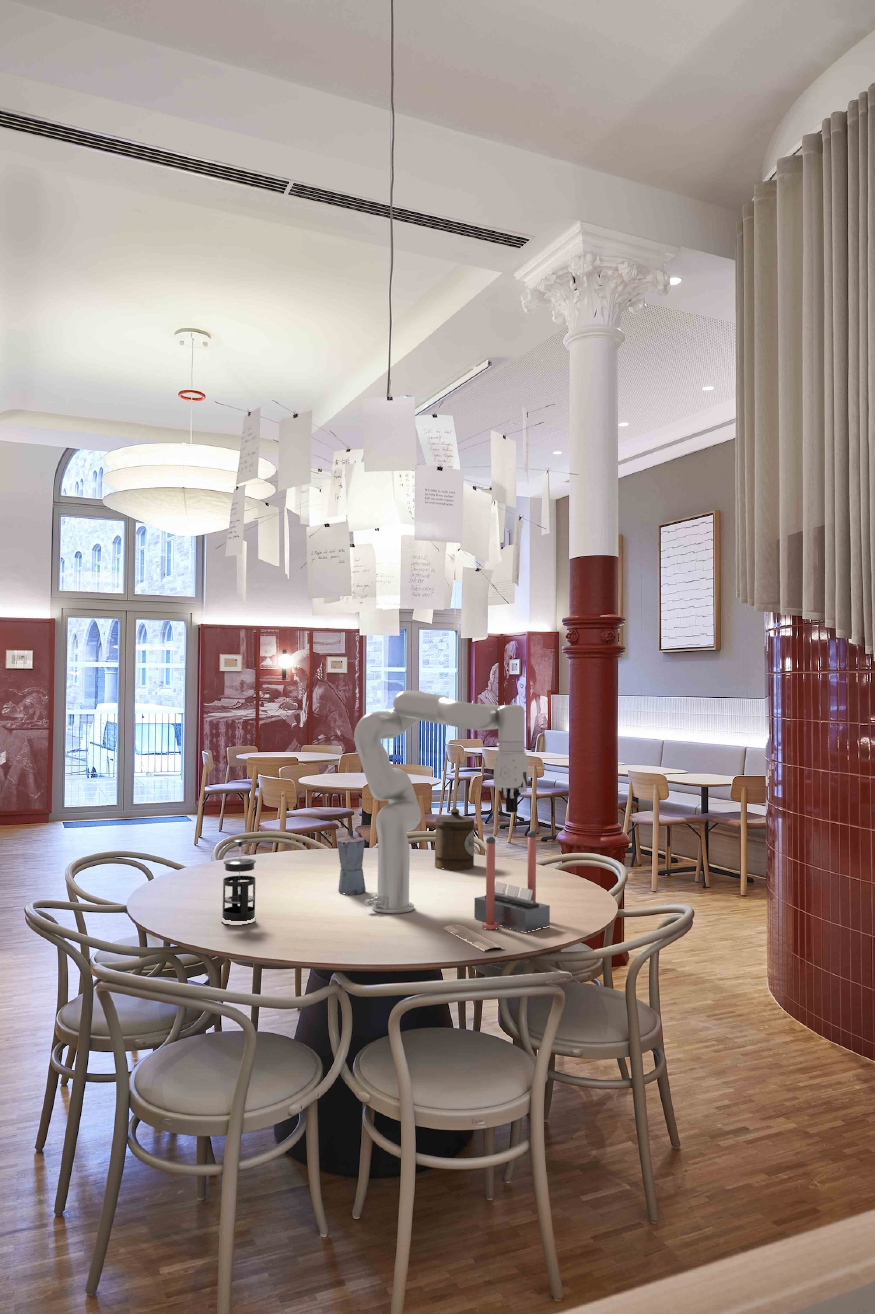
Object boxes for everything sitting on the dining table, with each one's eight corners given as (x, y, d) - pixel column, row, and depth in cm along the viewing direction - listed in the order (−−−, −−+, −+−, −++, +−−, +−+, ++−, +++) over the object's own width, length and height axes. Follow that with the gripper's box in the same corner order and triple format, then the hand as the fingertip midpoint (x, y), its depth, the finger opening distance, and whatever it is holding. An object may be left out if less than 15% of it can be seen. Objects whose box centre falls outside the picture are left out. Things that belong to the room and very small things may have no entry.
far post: (532, 920, 246) (532, 832, 247) (520, 917, 250) (521, 830, 251) (542, 918, 249) (542, 830, 250) (531, 915, 252) (531, 829, 254)
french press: (217, 918, 245) (219, 837, 246) (249, 915, 250) (251, 835, 251) (227, 928, 235) (229, 844, 236) (261, 924, 239) (262, 841, 240)
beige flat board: (504, 952, 217) (504, 945, 218) (480, 956, 214) (480, 948, 214) (462, 929, 239) (462, 923, 239) (439, 932, 236) (439, 925, 236)
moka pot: (329, 895, 275) (330, 833, 276) (346, 885, 290) (346, 826, 291) (357, 897, 273) (358, 834, 274) (372, 887, 288) (373, 827, 289)
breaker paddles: (530, 903, 238) (533, 890, 239) (489, 893, 250) (492, 880, 251) (533, 904, 238) (536, 891, 239) (492, 894, 250) (496, 881, 251)
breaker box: (525, 933, 233) (525, 908, 233) (474, 918, 248) (474, 895, 248) (549, 927, 240) (549, 903, 240) (498, 913, 255) (498, 890, 255)
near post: (490, 931, 235) (490, 838, 236) (479, 927, 238) (479, 836, 240) (501, 928, 238) (501, 836, 239) (490, 925, 241) (490, 834, 242)
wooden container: (477, 870, 319) (477, 810, 320) (437, 870, 317) (438, 811, 318) (470, 862, 334) (470, 805, 335) (432, 863, 332) (433, 806, 333)
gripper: (484, 747, 250) (484, 810, 249) (521, 749, 238) (522, 815, 237) (501, 746, 255) (502, 808, 254) (539, 748, 243) (540, 813, 242)
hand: (511, 811), depth 245 cm, fingers closed
